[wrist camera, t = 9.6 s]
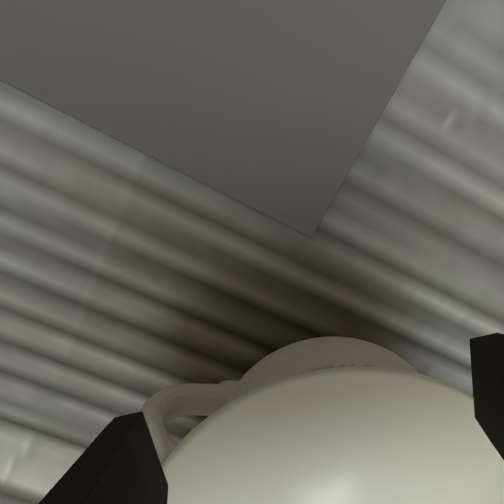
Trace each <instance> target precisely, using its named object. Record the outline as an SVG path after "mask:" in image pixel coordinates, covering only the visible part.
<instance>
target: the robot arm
mask: <svg viewBox="0 0 504 504" xmlns="http://www.w3.org/2000/svg"><path fill="white" fill-rule="evenodd" d="M470 352H471V368H472V383H473V399H474V414H475V419H476V420H477V422H478V423H479V425H480V426H481V428H482V429H483V431H484V432H485V434H486V435H487V437H488V439H489V440H490V442H491V443H492V444H493V446H494V447H495V449H496V450H497V452H498V453H499V454H500V456H501V457H502V459H503V460H504V334H500V333H495V334H490V335H486V336H481V337H477V338H472V339H470ZM167 499H168V483H167V480H166V477H165V474H164V471H163V469H162V466H161V463H160V460H159V457H158V454H157V451H156V448H155V445H154V443H153V440H152V437H151V434H150V431H149V428H148V425H147V422H146V419H145V417H144V414H143V411H142V412H137V413H133V414H128V415H124V416H119V417H115V418H114V419H113V420H112V421H111V422H110V423H109V424H108V425H107V426H106V428H105V429H104V430H103V431H102V432H101V433H100V434H99V435H98V436H97V438H96V439H95V440H94V441H93V442H92V443H91V444H90V446H89V447H88V448H87V449H86V450H85V451H84V453H83V454H82V455H81V456H80V457H79V458H78V459H77V461H76V462H75V463H74V464H73V465H72V466H71V467H70V469H69V470H68V471H67V472H66V473H65V474H64V475H63V477H62V478H61V479H60V480H59V481H58V482H57V483H56V484H55V486H54V487H53V488H52V489H51V490H50V491H49V492H48V493H47V495H46V496H45V497H44V498H43V499H42V500H41V501H40V502H39V504H167Z"/></svg>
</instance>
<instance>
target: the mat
mask: <svg viewBox="0 0 504 504" xmlns="http://www.w3.org/2000/svg"><path fill="white" fill-rule="evenodd" d="M445 2H446V0H0V80H1V81H3V82H5V83H7V84H9V85H11V86H13V87H15V88H17V89H19V90H21V91H23V92H24V93H26V94H28V95H30V96H32V97H34V98H36V99H38V100H40V101H42V102H44V103H46V104H48V105H50V106H52V107H54V108H56V109H58V110H60V111H62V112H64V113H66V114H68V115H70V116H72V117H74V118H76V119H78V120H80V121H82V122H84V123H86V124H87V125H89V126H91V127H93V128H95V129H97V130H99V131H101V132H103V133H105V134H107V135H109V136H111V137H113V138H115V139H117V140H119V141H121V142H123V143H125V144H127V145H129V146H131V147H133V148H135V149H137V150H139V151H141V152H143V153H145V154H147V155H149V156H151V157H152V158H154V159H156V160H158V161H160V162H162V163H164V164H166V165H168V166H170V167H172V168H174V169H176V170H178V171H180V172H182V173H184V174H186V175H188V176H190V177H192V178H194V179H196V180H198V181H200V182H202V183H204V184H206V185H208V186H210V187H212V188H214V189H215V190H217V191H219V192H221V193H223V194H225V195H227V196H229V197H231V198H233V199H235V200H237V201H239V202H241V203H243V204H245V205H247V206H249V207H251V208H253V209H255V210H257V211H259V212H261V213H263V214H265V215H267V216H269V217H271V218H273V219H275V220H277V221H278V222H280V223H282V224H284V225H286V226H288V227H290V228H292V229H294V230H296V231H298V232H300V233H302V234H304V235H306V236H308V237H310V238H311V237H312V236H313V234H314V232H315V230H316V228H317V227H318V225H319V223H320V221H321V220H322V218H323V216H324V214H325V213H326V211H327V209H328V207H329V206H330V204H331V202H332V200H333V199H334V197H335V195H336V193H337V192H338V190H339V188H340V186H341V185H342V183H343V181H344V179H345V177H346V176H347V174H348V172H349V170H350V169H351V167H352V165H353V163H354V162H355V160H356V158H357V156H358V155H359V153H360V151H361V149H362V148H363V146H364V144H365V142H366V141H367V139H368V137H369V135H370V133H371V132H372V130H373V128H374V126H375V125H376V123H377V121H378V119H379V118H380V116H381V114H382V112H383V111H384V109H385V107H386V105H387V104H388V102H389V100H390V98H391V97H392V95H393V93H394V91H395V89H396V88H397V86H398V84H399V82H400V81H401V79H402V77H403V75H404V74H405V72H406V70H407V68H408V67H409V65H410V63H411V61H412V60H413V58H414V56H415V54H416V53H417V51H418V49H419V47H420V45H421V44H422V42H423V40H424V38H425V37H426V35H427V33H428V31H429V30H430V28H431V26H432V24H433V23H434V21H435V19H436V17H437V16H438V14H439V12H440V10H441V9H442V7H443V5H444V3H445Z"/></svg>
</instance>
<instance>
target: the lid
mask: <svg viewBox="0 0 504 504" xmlns="http://www.w3.org/2000/svg"><path fill="white" fill-rule="evenodd" d="M161 466H162V469H163V471H164V474H165V477H166V480H167V483H168V499H167V504H504V460H503V459H502V457H501V456H500V454H499V453H498V452H497V450H496V449H495V447H494V446H493V444H492V443H491V442H490V440H489V439H488V437H487V435H486V434H485V432H484V431H483V429H482V428H481V426H480V425H479V423H478V422H477V420H476V419H475V414H474V399H473V396H472V395H470V394H468V393H467V392H465V391H463V390H462V389H460V388H458V387H456V386H453V385H451V384H448V383H446V382H444V381H441V380H439V379H436V378H434V377H430V376H426V375H423V374H419V373H415V372H411V371H408V370H400V369H393V368H385V367H361V366H349V367H339V368H330V369H320V370H316V371H311V372H307V373H302V374H298V375H293V376H289V377H286V378H283V379H281V380H278V381H275V382H272V383H269V384H266V385H263V386H261V387H259V388H257V389H255V390H252V391H250V392H248V393H246V394H244V395H242V396H240V397H238V398H236V399H234V400H232V401H231V402H229V403H228V404H226V405H225V406H223V407H221V408H220V409H218V410H217V411H215V412H214V413H212V414H211V415H209V416H208V417H207V418H206V419H205V420H203V421H202V422H201V423H200V424H198V425H197V426H196V427H195V428H194V429H192V430H191V431H190V432H189V433H188V434H187V435H186V436H185V437H184V438H183V439H182V440H181V442H180V443H179V444H178V445H177V446H176V447H175V448H174V449H173V450H172V451H171V453H170V454H169V455H168V457H167V458H166V460H165V461H164V463H163V464H162V465H161Z"/></svg>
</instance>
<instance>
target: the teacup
mask: <svg viewBox="0 0 504 504" xmlns="http://www.w3.org/2000/svg"><path fill="white" fill-rule="evenodd" d="M349 366H361V367H385V368H393V369H400V370H408V371H411V372H415V373H419V372H418V371H417V370H416V369H415V368H414V367H413V366H412V365H410V364H409V363H408V362H407V361H406V360H404V359H403V358H401V357H399V356H398V355H396V354H395V353H393V352H392V351H390V350H388V349H386V348H384V347H382V346H379V345H377V344H374V343H371V342H368V341H365V340H360V339H356V338H350V337H336V336H332V337H318V338H310V339H306V340H302V341H299V342H295V343H292V344H290V345H287V346H285V347H282V348H280V349H278V350H276V351H274V352H273V353H271V354H269V355H267V356H265V357H264V358H263V359H261V360H260V361H259V362H258V363H256V364H255V365H254V366H253V367H252V368H251V369H250V370H248V371H247V372H246V373H245V375H244V376H243V377H242V378H241V379H240V380H237V381H234V380H224V381H222V382H220V383H219V384H200V383H187V384H178V385H173V386H169V387H166V388H164V389H162V390H160V391H158V392H156V393H155V394H153V395H152V396H151V398H150V399H149V400H148V401H147V402H146V403H145V404H144V406H143V407H142V409H141V410H140V412H142V411H143V414H144V417H145V419H146V422H147V425H148V428H149V431H150V434H151V437H152V440H153V443H154V445H155V448H156V451H157V454H158V457H159V460H160V463H161V465H162V464H163V463H164V461H165V460H166V458H167V457H168V455H169V454H170V453H171V451H172V450H173V449H174V448H175V447H176V446H177V445H178V443H177V442H176V441H175V440H174V439H173V438H172V437H171V436H170V435H169V433H168V431H167V429H166V427H165V424H164V422H165V421H168V420H170V419H173V418H176V417H181V416H189V415H204V416H209V415H211V414H212V413H214V412H215V411H217V410H218V409H220V408H221V407H223V406H225V405H226V404H228V403H229V402H231V401H232V400H234V399H236V398H238V397H240V396H242V395H244V394H246V393H248V392H250V391H252V390H255V389H257V388H259V387H261V386H263V385H266V384H269V383H272V382H275V381H278V380H281V379H283V378H286V377H289V376H293V375H298V374H302V373H307V372H311V371H316V370H320V369H330V368H339V367H349ZM419 374H420V373H419Z"/></svg>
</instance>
